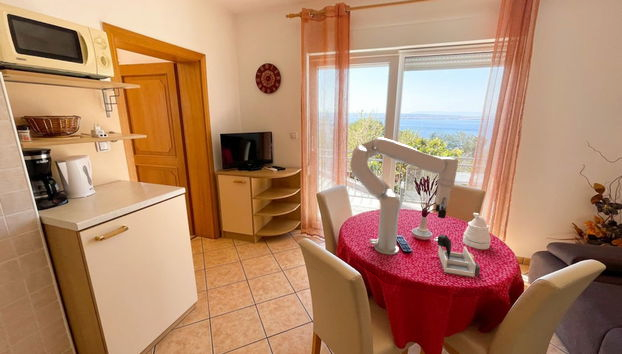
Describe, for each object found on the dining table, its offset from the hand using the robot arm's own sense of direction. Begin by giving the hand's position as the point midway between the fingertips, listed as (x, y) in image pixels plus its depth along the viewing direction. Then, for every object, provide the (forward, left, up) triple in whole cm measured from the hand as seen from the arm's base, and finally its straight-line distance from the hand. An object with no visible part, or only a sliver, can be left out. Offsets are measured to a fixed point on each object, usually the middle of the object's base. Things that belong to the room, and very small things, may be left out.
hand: (439, 214), depth 127 cm
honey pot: (+23, +19, -22) cm, 37 cm away
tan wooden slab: (+15, -5, -22) cm, 27 cm away
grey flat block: (+15, -14, -22) cm, 30 cm away
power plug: (+3, -4, -22) cm, 22 cm away
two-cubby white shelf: (+7, -9, -22) cm, 25 cm away
